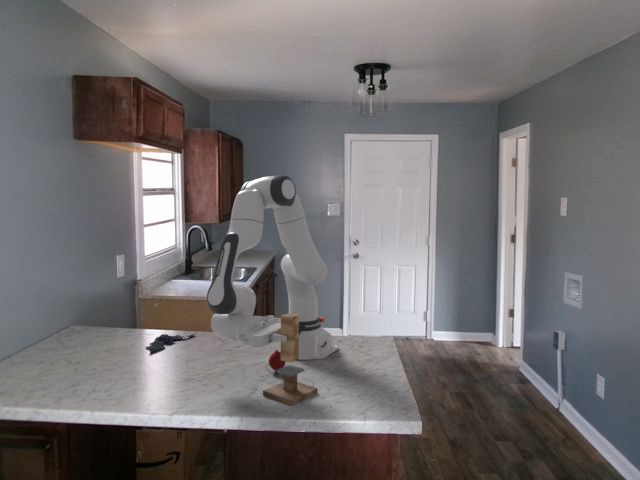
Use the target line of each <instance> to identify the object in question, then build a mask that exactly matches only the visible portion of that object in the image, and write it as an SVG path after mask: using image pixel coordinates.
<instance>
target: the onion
mask: <svg viewBox="0 0 640 480" xmlns="http://www.w3.org/2000/svg"><path fill="white" fill-rule="evenodd" d="M268 365H269V366H270V368H271V369H272V370H274V371H275V372H276V373H277V369H280V368H282V367H285V366H286V361H281V351H279V350H278V348H275V350H274V352H273V353H271V354H270V355H269V358H268Z"/></svg>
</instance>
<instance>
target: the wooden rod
mask: <svg viewBox="0 0 640 480" xmlns="http://www.w3.org/2000/svg"><path fill="white" fill-rule="evenodd" d="M280 318H281V335H288V336H289V340H288V341H286V342H283V341H280V352H281V361H285V363H286V362H287V363H294V362H295V361H297V360H299V315H297V314H290V313H289V312H287V313H284V314H281V315H280Z"/></svg>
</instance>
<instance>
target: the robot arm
mask: <svg viewBox="0 0 640 480" xmlns="http://www.w3.org/2000/svg"><path fill="white" fill-rule="evenodd" d="M296 188H297V187H296V185H295V183H294V181H293V179H292V178H291V177H289V176H287V175H284V174H278V175H269V176H268V175H267V176H263V177H261V178H260V177H259V178H257V179H251V180H249V181H246V182H244V184H243V185H242V186H241V187H240V190H239V192H238V193H237V194H236V196H235V198H234V200H233V201H234V202H233V206H232V209H231V215H230V222H229V223H230V224H229V227H228V228H229V229H228V231H227V233H226V235H225V236H224V237H223V239H222V241H221V244H220V247H219V252H218V256H217V261H216V265H215V268H214V274H213V278H212V280H211V282H210V286H209V288H208V291H207V294H206V303H207V306H208V308H209V310H210V311H211V312H212V313H213V315H212V317H211V319H210V326H211V330H212V332H213V333H214V334H215V335H216V336H217V337H220V338H222V339H226V340H229V341H234V342H235V341H240V342H242V343H244V344H245V345H247V346H251V347H255V348H263V347H265V346H267V345H270V344H272V343H275V342H281V341H283V342H286V341H288V340H289V336H288V335H281V317H275V316H274V315H272V314H271V315H270V314H269V315H261V316H260V315H254V314H255V313H254V312H255V309H256V305H257V294H256V292H255V290H254V289H253V288H251V287H249V286H247V285H241V284H234V276H235V271H236V266H237V262H238V258H239V256H240V255H241V253H243V252H244V251H247V250H250V249H252V248H254V247H255V246H257V245H258V244H259V243H260V241H261V239H262V236H263V231H264V230H263V229H264V220H265V210H266V209H272V210H273V215H274V220H275V224H276V227H277V231H278V235H279V238H280V242H281V244H282V246H283V248H284V249H285V251H286V252H287V253H286V254H285V255H284V256H283V257H282V259H281V261H280V268H281V271H282V272H283V276H284V280H285V284H286V285H285V286H286V290H287V296H288V313H290V314H297V315H299V359H298V360H299V361H300V360H306V361H307V360H323V359H325V358H327V357H329V356H330V355H331V354H333V353H334V352H336V351H337V350H339V345H337V344H334V343H333V337H332V334H331V332H329V331H328V330H326V329H325V328H323V326H322V325H321V323H326V318H325V317H322V316H318V315H319V307H318V306H319V298H318V295H317V293H316V291H315V287H314V286H317V285H320V284H322V283H323V282H325V280H326V278H327V276H328V267H327V264H326V262H325V261H323V259H322V258H321V255H320V254H319V251H318V249H317V247H316V245H315V243H314V241H313V239H312V235H311V233H310V229H309V225H308V222H307V218H306V213H305V210H304V208H303V205H302V202H301V199H300V197H299V195H298V193H297V189H296Z"/></svg>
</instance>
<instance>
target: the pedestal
mask: <svg viewBox="0 0 640 480" xmlns="http://www.w3.org/2000/svg"><path fill="white" fill-rule="evenodd" d="M304 372H305V368H302V367H299V366H297V365H296V366H295V365H293V364H287V365H285V366H284V367H282V368H280V369H277V372H276V373H277V374H280V375H283V381H282V382H280V383H277V384H275V385H273V386H271V387H268V388H267V389H266V388H265V389H264V390H262V396H264V397H267V398H270V399H272V400H275V401H279V402H281V403H285V404H287V405H289V406H294V405H296V404H298V403H300V402H302V401H304V400H306V399H309V398H310V397H313V396H314V395H317V394H318V391H319V389H318V388H317V387H315V386H313V385H312V386H311V385H308V384H304V383H301V382H298V375H299V374H300V373H304Z"/></svg>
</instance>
